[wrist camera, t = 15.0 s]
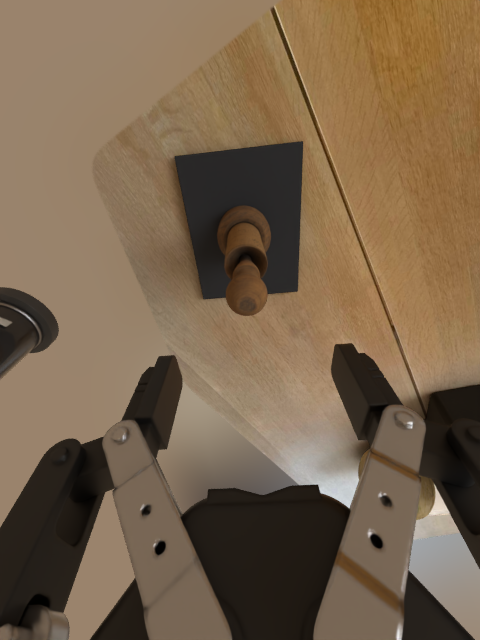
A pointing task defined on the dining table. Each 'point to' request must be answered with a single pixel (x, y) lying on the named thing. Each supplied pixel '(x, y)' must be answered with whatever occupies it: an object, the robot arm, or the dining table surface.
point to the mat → (250, 190)
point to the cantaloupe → (425, 493)
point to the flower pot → (454, 405)
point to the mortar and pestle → (245, 258)
